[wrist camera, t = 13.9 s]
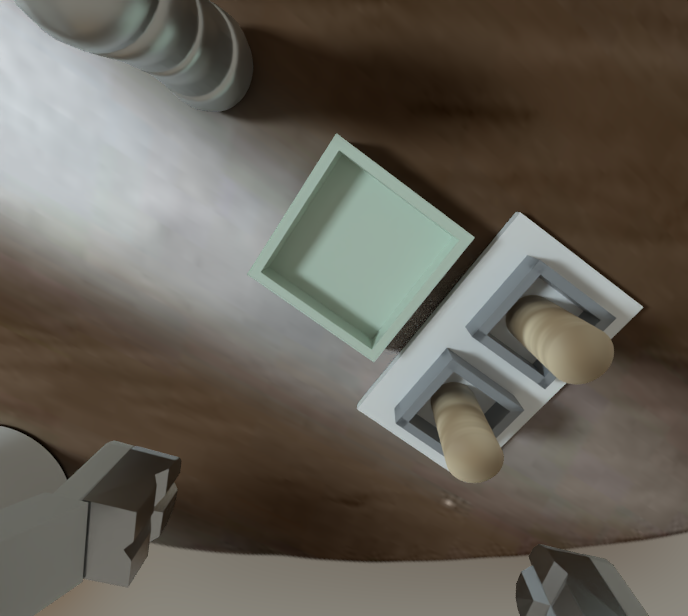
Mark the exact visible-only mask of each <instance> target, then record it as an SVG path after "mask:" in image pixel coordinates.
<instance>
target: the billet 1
mask: <svg viewBox="0 0 688 616" xmlns="http://www.w3.org/2000/svg"><path fill="white" fill-rule="evenodd" d="M431 408H432V411H433V415H434V419H435V423H436V427H437V430H438V434H439V438H440V442H441V446H442V450H443V453H444V457H445V461H446V465H447V468H448V470H449V471H450V472H451V474H452V475H453V476H455V477H456V478H457V479H459V480H461V481H464V482H469V483H479V482H484V481H487V480H489V479H491V478H492V477H494V476H495V475H496V474H497V473H498V472H499V471H500V469H501V467H502V465H503V461H504V456H503V452H502V449H501V447H500V445H499V443H498V441H497V439H496V437H495V435H494V433H493V431H492V429H491V427H490V425H489V423H488V421H487V419H486V417H485V415H484V413H483V411H482V409H481V407H480V405H479V403H478V401H477V399H476V397H475V395H474V393H473V392H472V390H471V389H470V388H469V387H468V386H466V385H464V384H462V383H458V382H449V383H445V384H443V385H441V386H440V388H439V389H438V390H437V391H436V392H435V393H434V394H433V395H432V397H431Z"/></svg>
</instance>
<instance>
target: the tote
mask: <svg viewBox="0 0 688 616" xmlns="http://www.w3.org/2000/svg"><path fill="white" fill-rule="evenodd" d="M474 238H475V237H473V236H472V235H471V234H469V233H468V232H467V231H465V230H464V229H463V228H462V227H460V226H459V225H458V224H456V223H455V222H454V221H452V220H451V219H450V218H448V217H447V216H446V215H444V214H443V213H442V212H440V211H439V210H438V209H436V208H435V207H434V206H432V205H431V204H430V203H428V202H427V201H426V200H424V199H423V198H422V197H420V196H419V195H418V194H416V193H415V192H414V191H412V190H411V189H410V188H408V187H407V186H406V185H404V184H403V183H402V182H400V181H399V180H398V179H396V178H395V177H394V176H392V175H391V174H390V173H388V172H387V171H386V170H384V169H383V168H382V167H380V166H379V165H378V164H376V163H375V162H374V161H372V160H371V159H370V158H368V157H367V156H366V155H364V154H363V153H362V152H360V151H359V150H358V149H357V148H355V147H354V146H353V145H351V144H350V143H349V142H347V141H346V140H345V139H343V138H342V137H341V136H339V135H338V134H337V133H336V135H335V136H334V138H333V139H332V141H331V143H330V144H329V146H328V147H327V149H326V150H325V152H324V154H323V155H322V157H321V158H320V160H319V161H318V163H317V165H316V166H315V168H314V169H313V171H312V173H311V174H310V176H309V177H308V179H307V180H306V182H305V184H304V185H303V187H302V188H301V190H300V192H299V193H298V195H297V196H296V198H295V199H294V201H293V203H292V204H291V206H290V207H289V209H288V211H287V212H286V214H285V215H284V217H283V218H282V220H281V222H280V223H279V225H278V226H277V228H276V230H275V231H274V233H273V234H272V236H271V237H270V239H269V241H268V242H267V244H266V245H265V247H264V248H263V250H262V252H261V253H260V255H259V256H258V258H257V260H256V261H255V263H254V264H253V266H252V267H251V269H250V271H249V272H248V274H247V275H249V276H250V277H252V278H253V279H254V280H256V281H257V282H259V283H260V284H262V285H263V286H265V287H266V288H267V289H269V290H270V291H272V292H273V293H275V294H276V295H278V296H279V297H280V298H282V299H283V300H285V301H286V302H288V303H289V304H291V305H292V306H293V307H295V308H296V309H298V310H299V311H301V312H302V313H304V314H305V315H306V316H308V317H309V318H311V319H312V320H314V321H315V322H316V323H318V324H319V325H321V326H322V327H324V328H325V329H327V330H328V331H329V332H331V333H332V334H334V335H335V336H337V337H338V338H340V339H341V340H342V341H344V342H345V343H347V344H348V345H350V346H351V347H353V348H354V349H355V350H357V351H358V352H360V353H361V354H363V355H364V356H366V357H367V358H368V359H370V360H371V361H373V362H375V360H376V359H377V358H378V357H379V355H380V354H381V353H382V352H383V350H384V349H385V348H386V347H387V346H388V344H389V343H390V342H391V341H392V339H393V338H394V337H395V336H396V334H397V333H398V332H399V331H400V329H401V328H402V327H403V326H404V325H405V323H406V322H407V321H408V320H409V318H410V317H411V316H412V315H413V313H414V312H415V311H416V310H417V308H418V307H419V306H420V305H421V304H422V302H423V301H424V300H425V299H426V297H427V296H428V295H429V294H430V292H431V291H432V290H433V289H434V287H435V286H436V285H437V284H438V283H439V281H440V280H441V279H442V278H443V276H444V275H445V274H446V273H447V271H448V270H449V269H450V268H451V266H452V265H453V264H454V263H455V262H456V260H457V259H458V258H459V257H460V255H461V254H462V253H463V252H464V250H465V249H466V248H467V247H468V245H469V244H470V243H471V242H472V241H473V239H474Z"/></svg>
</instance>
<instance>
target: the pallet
mask: <svg viewBox="0 0 688 616" xmlns="http://www.w3.org/2000/svg"><path fill="white" fill-rule="evenodd" d="M528 295H538V296H542V297H544V298H546V299H548V300H549V301H551V302H553V303H555V304H556V305H558V306H560V307H561V308H563V309H565V310H567V311H568V312H570V313H572V314H574V315H575V316H577V317H579V318H581V319H582V320H584V321H586V322H588V323H589V324H591V325H593V326H595V327H596V328H598V329H600V330H602V331H603V332H604V333H606V334H607V335H608V336H609V338H610V339H612V338H613V337H614V336H615V335H616V334H617V333H618V332H619V331H620V330H621V329H622V328H623V327H624V326H625V325H626V324H627V323H628V322H629V321H630V320H631V319H632V318H633V317H634V316H635V315H636V314H637V313H638V312H639V311H640V310H641V309H642V308H643V306H641V305H640V304H639V303H637V302H636V301H635V300H633V299H632V298H631V297H630V296H628V295H627V294H626V293H624V292H623V291H622V290H620V289H619V288H618V287H617V286H615V285H614V284H613V283H611V282H610V281H609V280H607V279H606V278H605V277H604V276H602V275H601V274H600V273H598V272H597V271H596V270H595V269H593V268H592V267H591V266H589V265H588V264H587V263H585V262H584V261H583V260H582V259H580V258H579V257H578V256H576V255H575V254H574V253H572V252H571V251H570V250H569V249H567V248H566V247H565V246H563V245H562V244H561V243H559V242H558V241H557V240H556V239H554V238H553V237H552V236H550V235H549V234H548V233H547V232H545V231H544V230H543V229H541V228H540V227H539V226H537V225H536V224H535V223H534V222H532V221H531V220H530V219H528V218H527V217H526V216H524V215H523V214H522V213H521V212H515V214H514V215H513V216H512V217H511V219H510V220H509V221H508V222H507V223H506V225H505V226H504V227H503V228H502V229H501V231H500V232H499V233H498V234H497V235H496V237H495V238H494V239H493V240H492V242H491V243H490V244H489V245H488V246H487V248H486V249H485V250H484V251H483V252H482V254H481V255H480V256H479V257H478V258H477V260H476V261H475V262H474V263H473V264H472V266H471V267H470V268H469V269H468V271H467V272H466V273H465V274H464V275H463V277H462V278H461V279H460V280H459V281H458V283H457V284H456V285H455V286H454V287H453V289H452V290H451V291H450V292H449V294H448V295H447V296H446V297H445V298H444V300H443V301H442V302H441V303H440V304H439V306H438V307H437V308H436V309H435V310H434V312H433V313H432V314H431V315H430V317H429V318H428V319H427V320H426V321H425V323H424V324H423V325H422V326H421V327H420V329H419V330H418V331H417V332H416V333H415V335H414V336H413V337H412V338H411V339H410V341H409V342H408V343H407V344H406V346H405V347H404V348H403V349H402V350H401V352H400V353H399V354H398V355H397V356H396V358H395V359H394V360H393V361H392V362H391V364H390V365H389V366H388V367H387V369H386V370H385V371H384V372H383V373H382V375H381V376H380V377H379V378H378V379H377V381H376V382H375V383H374V384H373V385H372V387H371V388H370V389H369V390H368V392H367V393H366V394H365V395H364V396H363V398H362V399H361V400H360V401H359V402H358V404H357V409H358V410H359V411H361V412H362V413H364V414H365V415H367V416H368V417H370V418H371V419H373V420H374V421H376V422H377V423H378V424H380V425H381V426H383V427H384V428H386V429H387V430H389V431H390V432H392V433H393V434H395V435H396V436H398V437H399V438H401V439H402V440H404V441H405V442H407V443H408V444H410V445H411V446H413V447H414V448H415V449H417V450H418V451H420V452H421V453H423V454H424V455H426V456H427V457H429V458H430V459H432V460H433V461H435V462H436V463H438V464H439V465H441V466H442V467H444V468H445V469H447V470H448V468H447V465H446V461H445V457H444V453H443V450H442V446H441V442H440V438H439V434H438V430H437V427H436V423H435V419H434V415H433V411H432V408H431V397H432V395H433V394H434V393H435V392H436V391H437V390H438V389H439V388H440V386H441V385H443V384H445V383H449V382H458V383H462V384H464V385H466V386H468V387H469V388H470V389H471V390H472V392H473V393H474V395H475V397H476V399H477V401H478V403H479V405H480V407H481V409H482V411H483V413H484V415H485V417H486V419H487V421H488V423H489V425H490V427H491V429H492V431H493V433H494V435H495V437H496V439H497V441H498V443H499V445H500V447H502V446H503V445H504V444H505V443H506V442H507V441H508V440H509V439H510V438H511V437H512V436H513V435H514V434H515V433H516V432H517V431H518V430H519V429H520V428H521V427H522V426H523V425H524V424H525V423H526V422H527V421H528V420H529V419H530V418H531V417H532V416H533V415H534V414H535V413H536V412H537V411H538V410H539V409H540V408H542V407H543V406H544V405H545V404H546V403H547V402H548V401H549V400H550V399H551V398H552V397H553V396H554V395H555V394H556V393H557V392H558V391H559V390H560V389H561V388H562V387H563V386H564V385H565V384H566V383H565V382H563V381H561V380H559V379H558V378H556V377H555V376H554V375H553V374H552V373H551V372H550V371H549V370H548V369H547V368H546V367H545V366H544V365H543V364H542V363H541V362H540V361H539V360H538V359H537V358H536V357H535V356H534V355H533V354H532V353H531V352H530V351H529V350H527V349H526V348H525V347H524V346H523V345H522V344H521V343H520V342H519V341H518V340H517V339H516V338H515V337H514V336H513V335H512V334H511V333H510V332H509V330H508V328H507V326H506V314H507V312H508V310H509V309H510V308H511V307H512V306H513V305H514V304H515V303H516V302H517V300H518V299H520V298H522V297H524V296H528ZM448 471H449V470H448ZM449 472H450V471H449Z"/></svg>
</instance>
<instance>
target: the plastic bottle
mask: <svg viewBox="0 0 688 616" xmlns="http://www.w3.org/2000/svg"><path fill="white" fill-rule="evenodd" d="M13 1H14V2H15V4H16V5H17V6H18V7H19V8H20V9H21V10H22V11H23V12H24V13H25V14H26V15H27V16H28V17H29V18H30V19H31V20H32V21H34V22H35V23H36V24H37V25H38V26H39V27H40V28H41V29H42V30H43V31H44V32H46V33H47V34H49V35H50V36H52V37H53V38H55V39H56V40H58V41H60V42H63V43H65V44H68V45H70V46H73V47H75V48H78V49H80V50H83V51H85V52H90V53H93V54H96V55H100V56H103V57H107V58H110V59H114V60H117V61H121V62H124V63H126V64H129V65H131V66H133V67H135V68H138V69H140V70H142V71H144V72H147V73H149V74H150V75H152V76H153V77H155V78H156V79H157V80H159V81H160V82H162V83H163V84H164V85H165V86H166V87H167V88H168V89H169V90H170V91H171V92H172V93H173V94H174V95H175V96H177V97H178V98H179V99H180V100H181V101H183V102H184V103H186V104H187V105H188V106H190V107H193V108H195V109H197V110H202V111H210V112H220V111H224V110H228V109H230V108H231V107H233V106H235V105H236V104H237V103H238V102H240V101H241V99H242V98H243V97H244V96H245V94H246V92H247V90H248V88H249V86H250V83H251V80H252V74H253V58H252V54H251V49H250V47H249V45H248V42H247V40H246V37H245V35H244V32H243V31H242V29H241V27H240V26H239V24H238V23H237V22H236V21H235V20H234V18H233V17H232V16H231V15H229V14H228V13H227V12H225V11H224V10H223V9H222V8H220V7H219V6H217V5H216V4H215V3H213V2H211V1H209V0H13Z"/></svg>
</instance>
